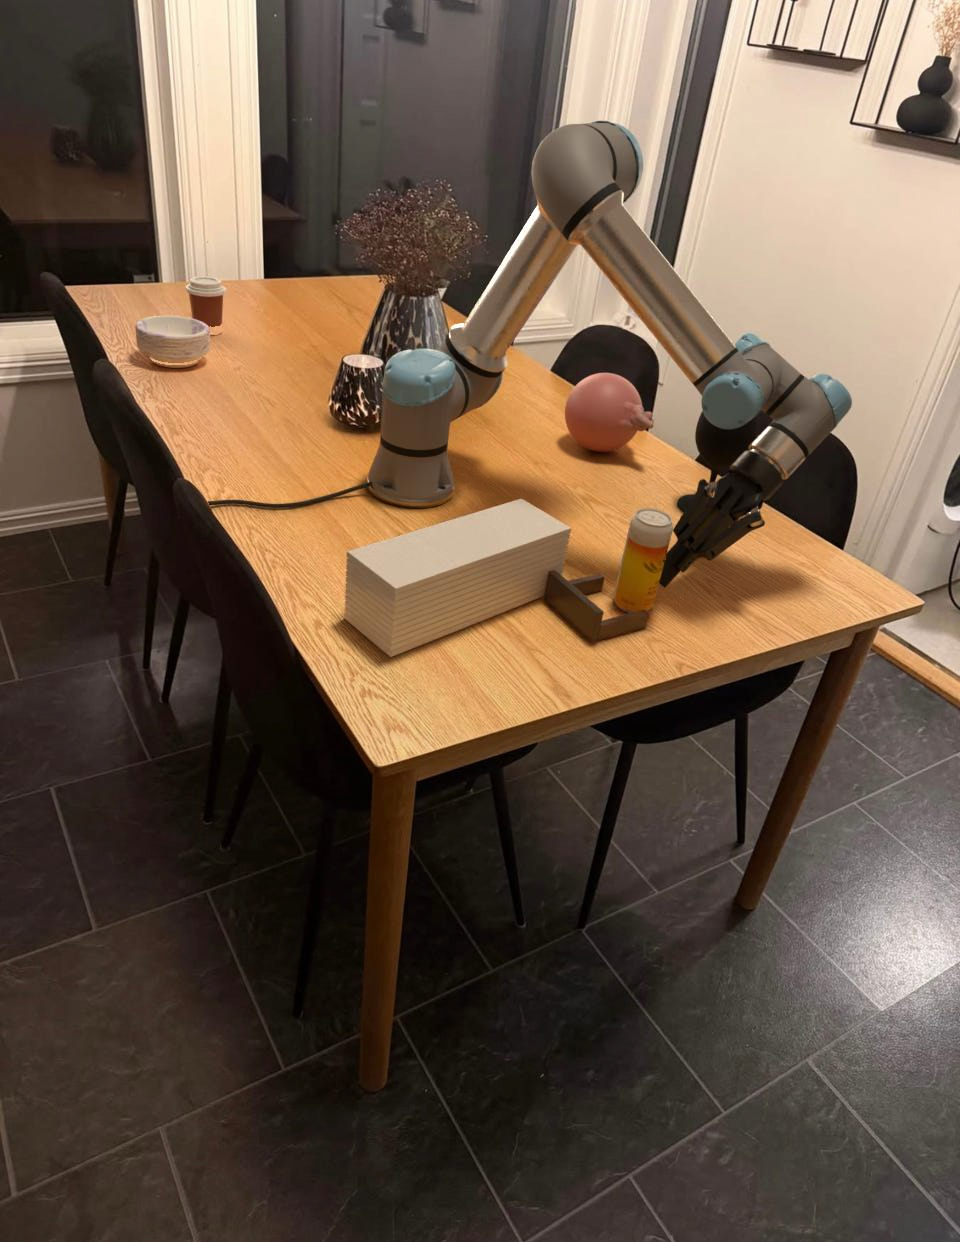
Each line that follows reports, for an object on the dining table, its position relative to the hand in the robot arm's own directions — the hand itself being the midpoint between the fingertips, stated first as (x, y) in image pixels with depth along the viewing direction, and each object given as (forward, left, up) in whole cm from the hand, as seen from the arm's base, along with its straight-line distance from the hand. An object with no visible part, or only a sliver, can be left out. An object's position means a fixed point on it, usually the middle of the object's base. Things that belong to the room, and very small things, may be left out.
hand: (658, 581), depth 140 cm
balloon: (+9, +54, -3) cm, 55 cm away
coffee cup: (-71, +118, -3) cm, 138 cm away
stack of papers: (-31, -1, -3) cm, 31 cm away
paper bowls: (-77, +97, -3) cm, 124 cm away
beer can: (-4, -2, -3) cm, 5 cm away
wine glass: (+21, +30, -3) cm, 37 cm away
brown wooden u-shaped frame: (-10, -4, -3) cm, 11 cm away
